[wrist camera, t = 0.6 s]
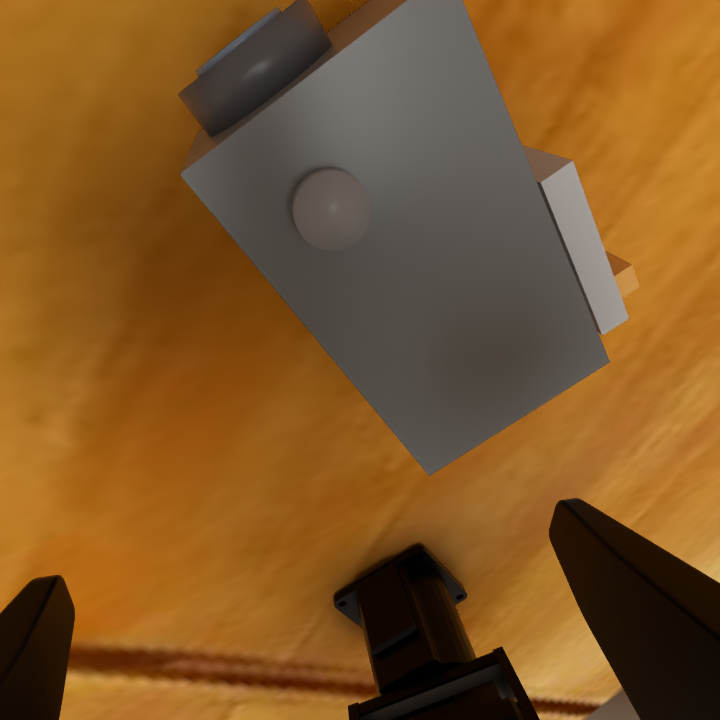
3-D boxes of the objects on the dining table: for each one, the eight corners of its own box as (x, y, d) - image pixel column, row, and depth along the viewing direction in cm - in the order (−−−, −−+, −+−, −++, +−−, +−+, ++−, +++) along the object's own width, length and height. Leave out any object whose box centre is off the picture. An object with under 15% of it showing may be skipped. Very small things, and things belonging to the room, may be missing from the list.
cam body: (536, 265, 23) (658, 348, 16) (379, 370, 24) (435, 488, 17) (382, -75, 16) (490, -167, 9) (167, 96, 16) (128, 121, 10)
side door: (573, 251, 21) (658, 299, 17) (528, 280, 21) (602, 335, 17) (519, 117, 18) (608, 135, 14) (469, 153, 18) (540, 182, 14)
